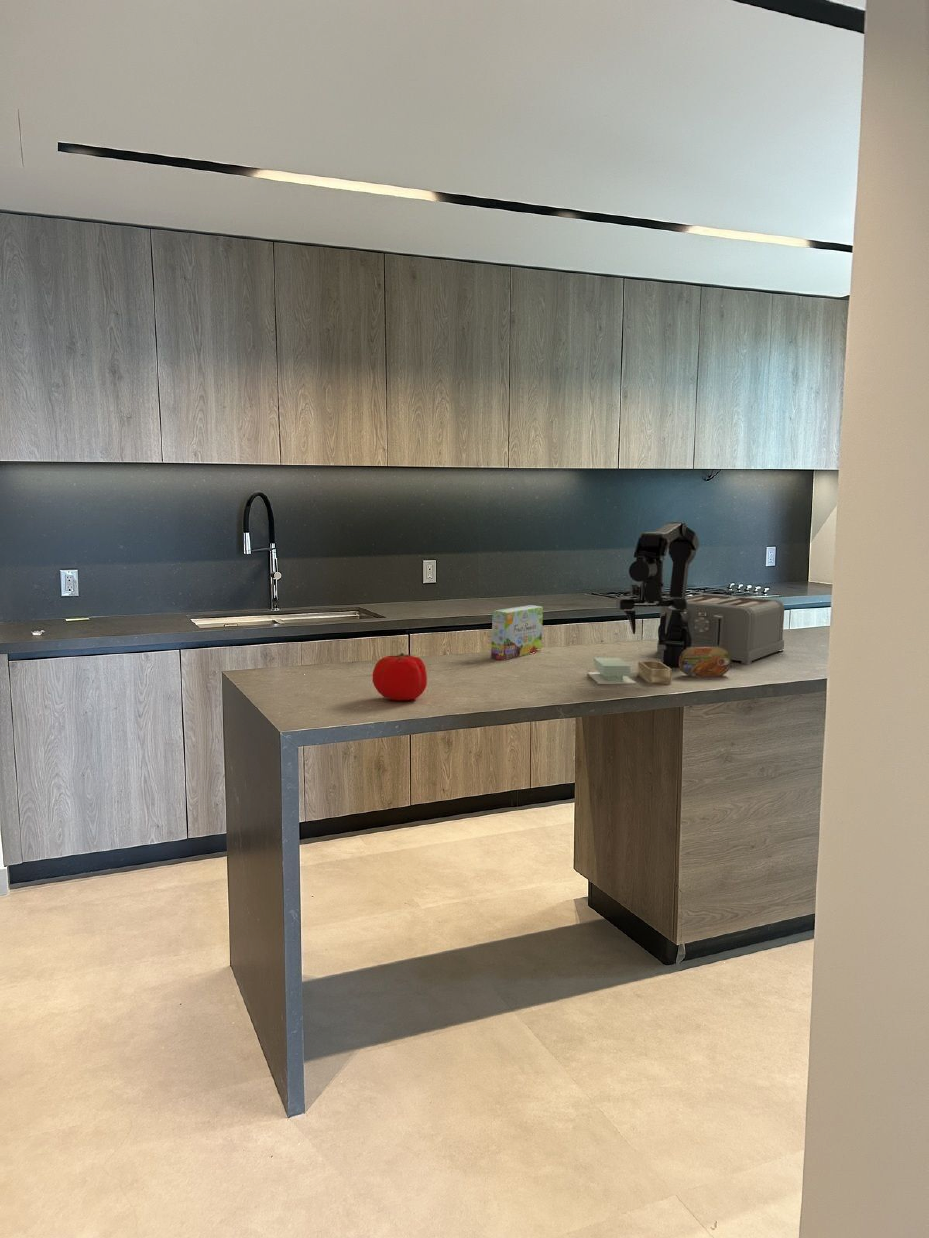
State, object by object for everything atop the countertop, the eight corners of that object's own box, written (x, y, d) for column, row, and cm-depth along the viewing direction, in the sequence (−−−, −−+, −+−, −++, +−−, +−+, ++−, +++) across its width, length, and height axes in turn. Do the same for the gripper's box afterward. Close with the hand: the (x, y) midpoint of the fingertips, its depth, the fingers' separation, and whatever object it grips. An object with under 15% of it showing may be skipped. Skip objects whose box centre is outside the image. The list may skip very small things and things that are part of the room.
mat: (622, 673, 264) (622, 672, 264) (635, 683, 251) (635, 682, 251) (587, 673, 264) (587, 672, 263) (598, 684, 250) (599, 682, 250)
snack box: (505, 661, 282) (506, 612, 280) (490, 658, 285) (491, 610, 283) (542, 652, 298) (543, 605, 296) (528, 649, 302) (529, 604, 300)
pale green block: (618, 672, 263) (618, 657, 263) (629, 681, 251) (630, 666, 251) (593, 672, 263) (593, 657, 262) (603, 682, 251) (604, 666, 250)
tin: (680, 677, 261) (682, 648, 260) (676, 675, 264) (678, 646, 263) (731, 676, 263) (732, 647, 262) (726, 674, 266) (728, 645, 265)
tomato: (427, 705, 223) (428, 657, 221) (372, 705, 222) (372, 657, 220) (425, 693, 235) (426, 649, 233) (372, 694, 234) (373, 649, 232)
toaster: (651, 654, 298) (653, 601, 295) (697, 641, 326) (699, 592, 323) (743, 666, 279) (746, 609, 277) (784, 651, 307) (787, 599, 304)
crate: (658, 674, 263) (658, 661, 263) (671, 683, 251) (671, 669, 251) (637, 675, 263) (638, 661, 262) (649, 683, 251) (650, 669, 250)
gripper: (677, 574, 264) (674, 628, 267) (612, 575, 263) (610, 629, 266) (688, 579, 253) (686, 635, 256) (621, 579, 252) (619, 636, 255)
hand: (650, 633), depth 258 cm, fingers open, 9 cm apart
